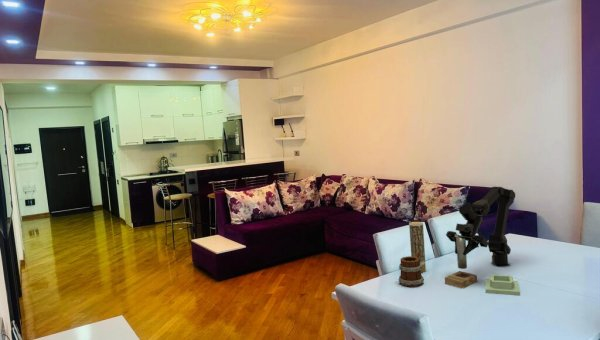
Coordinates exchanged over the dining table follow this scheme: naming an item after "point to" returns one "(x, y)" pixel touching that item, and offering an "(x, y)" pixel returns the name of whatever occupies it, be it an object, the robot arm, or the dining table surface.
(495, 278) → the socket stand
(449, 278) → the wooden rectangular frame
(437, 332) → the dining table surface
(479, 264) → the dining table surface
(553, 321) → the dining table surface
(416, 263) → the mug
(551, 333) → the dining table surface
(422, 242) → the bark textured cylinder
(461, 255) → the grey glass peg
